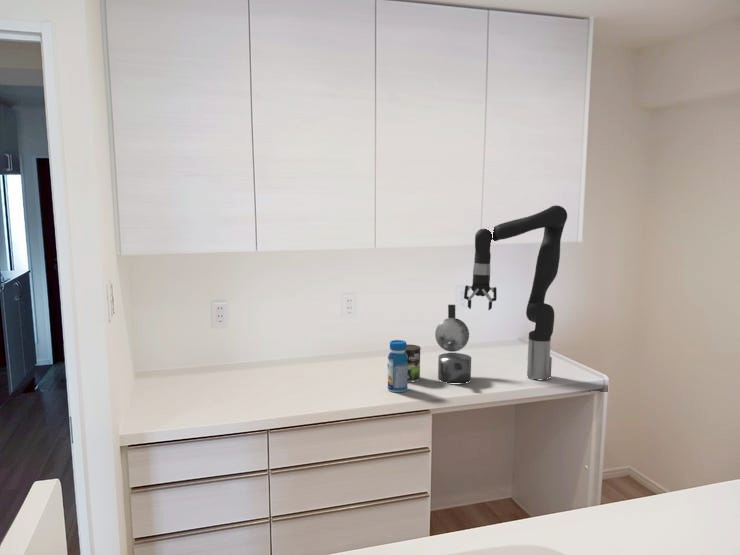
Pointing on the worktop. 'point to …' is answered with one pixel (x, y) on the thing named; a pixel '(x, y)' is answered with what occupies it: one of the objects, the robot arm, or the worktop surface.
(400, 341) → the beverage bottle
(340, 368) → the worktop surface
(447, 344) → the cooker lid
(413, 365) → the coffee can
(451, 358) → the cooker pot
